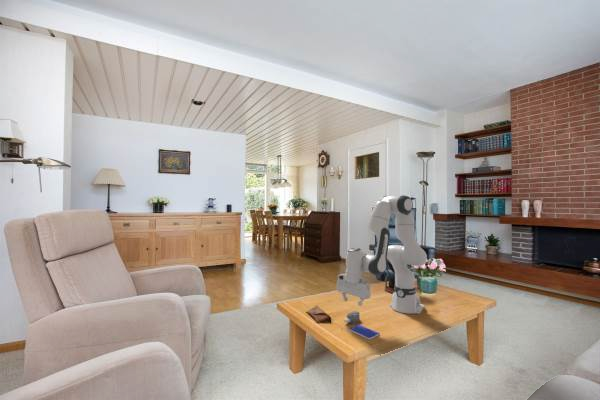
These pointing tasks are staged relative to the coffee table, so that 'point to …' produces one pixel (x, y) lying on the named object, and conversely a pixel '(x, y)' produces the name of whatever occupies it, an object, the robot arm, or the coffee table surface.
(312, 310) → the sunglasses case
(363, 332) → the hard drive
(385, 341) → the coffee table surface
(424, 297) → the coffee table surface
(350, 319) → the plug
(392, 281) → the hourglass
